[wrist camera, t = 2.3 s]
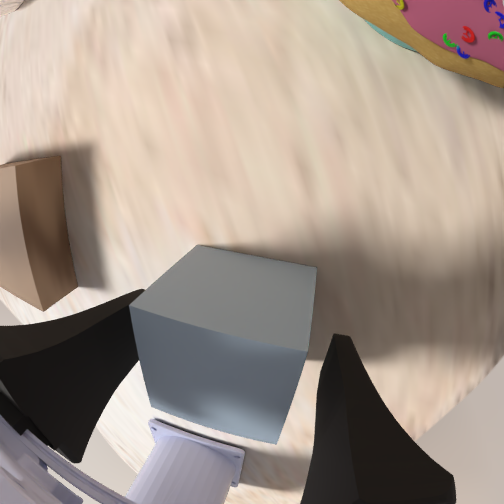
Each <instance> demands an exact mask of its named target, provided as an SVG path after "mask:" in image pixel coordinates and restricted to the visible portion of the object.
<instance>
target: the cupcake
mask: <svg viewBox="0 0 504 504" xmlns="http://www.w3.org/2000/svg"><path fill="white" fill-rule="evenodd" d="M340 1H341V2H342V3H343V4H344V5H345V6H346V7H347V8H349V9H350V10H351V11H352V12H354V13H355V14H357V15H358V16H360V17H362V18H363V19H364V20H365V21H366V22H367V23H368V24H369V25H370V26H371V27H372V28H373V29H374V30H376V31H377V32H378V33H379V34H381V35H382V36H384V37H385V38H387V39H388V40H390V41H392V42H394V43H395V44H398V45H400V46H402V47H404V48H407V49H410V50H413V51H416V52H419V53H420V54H421V55H422V56H424V57H425V58H426V59H427V60H429V61H430V62H432V63H433V64H435V65H437V66H439V67H441V68H443V69H446V70H449V71H452V72H455V73H459V74H462V75H465V76H468V77H472V78H475V79H478V80H481V81H483V82H486V83H488V84H491V85H494V86H497V87H501V88H504V0H340Z"/></svg>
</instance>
